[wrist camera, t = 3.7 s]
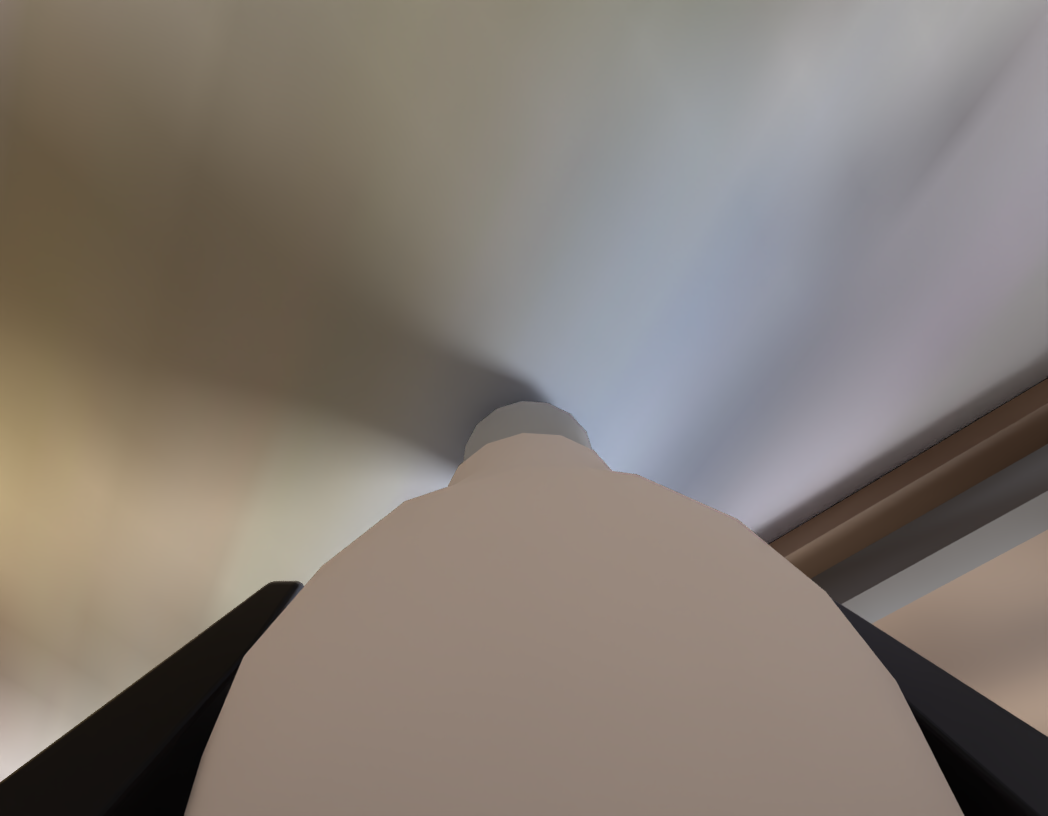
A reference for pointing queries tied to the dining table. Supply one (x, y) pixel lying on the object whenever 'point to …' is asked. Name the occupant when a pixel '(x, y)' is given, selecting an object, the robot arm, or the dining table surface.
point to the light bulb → (562, 663)
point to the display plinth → (952, 555)
